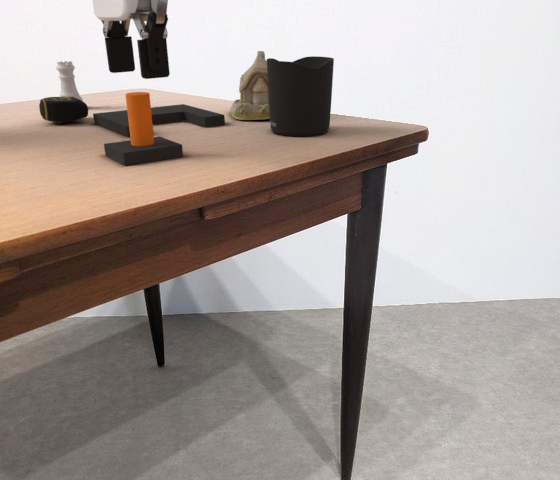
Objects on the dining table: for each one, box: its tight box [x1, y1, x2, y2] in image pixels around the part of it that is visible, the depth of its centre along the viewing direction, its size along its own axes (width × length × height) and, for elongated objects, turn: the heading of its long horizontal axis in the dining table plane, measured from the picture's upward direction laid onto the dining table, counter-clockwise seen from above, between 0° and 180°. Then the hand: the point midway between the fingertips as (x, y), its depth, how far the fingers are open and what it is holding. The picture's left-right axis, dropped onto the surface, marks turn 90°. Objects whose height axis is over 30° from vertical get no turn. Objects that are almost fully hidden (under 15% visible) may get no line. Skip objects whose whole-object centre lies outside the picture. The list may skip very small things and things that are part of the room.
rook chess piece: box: [55, 60, 84, 102], centre depth 109 cm, size 4×4×8 cm
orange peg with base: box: [103, 91, 184, 167], centre depth 73 cm, size 8×6×8 cm
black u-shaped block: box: [92, 103, 226, 138], centre depth 95 cm, size 16×14×2 cm
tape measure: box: [38, 96, 89, 125], centre depth 97 cm, size 7×7×4 cm
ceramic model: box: [229, 50, 270, 121], centre depth 101 cm, size 14×11×10 cm
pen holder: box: [266, 55, 335, 137], centre depth 87 cm, size 9×9×10 cm
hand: (138, 74), depth 71 cm, fingers open, 9 cm apart
